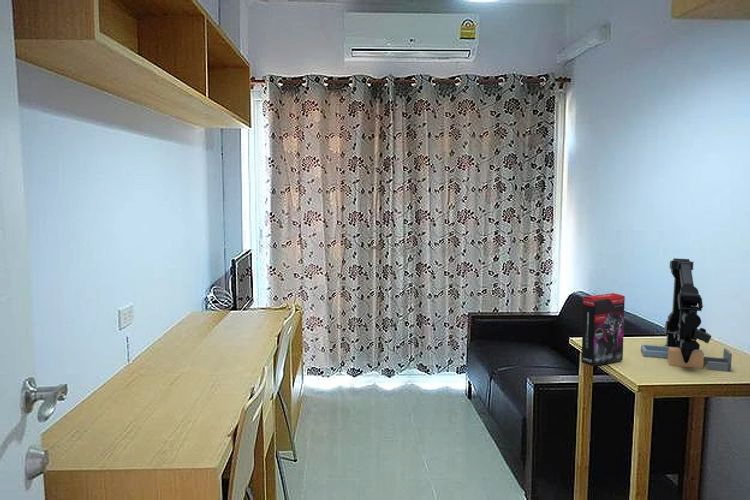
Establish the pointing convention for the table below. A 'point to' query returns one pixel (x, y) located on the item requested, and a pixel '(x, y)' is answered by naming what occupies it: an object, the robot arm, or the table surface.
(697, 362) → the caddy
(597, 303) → the graphics card box
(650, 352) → the tray
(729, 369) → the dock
